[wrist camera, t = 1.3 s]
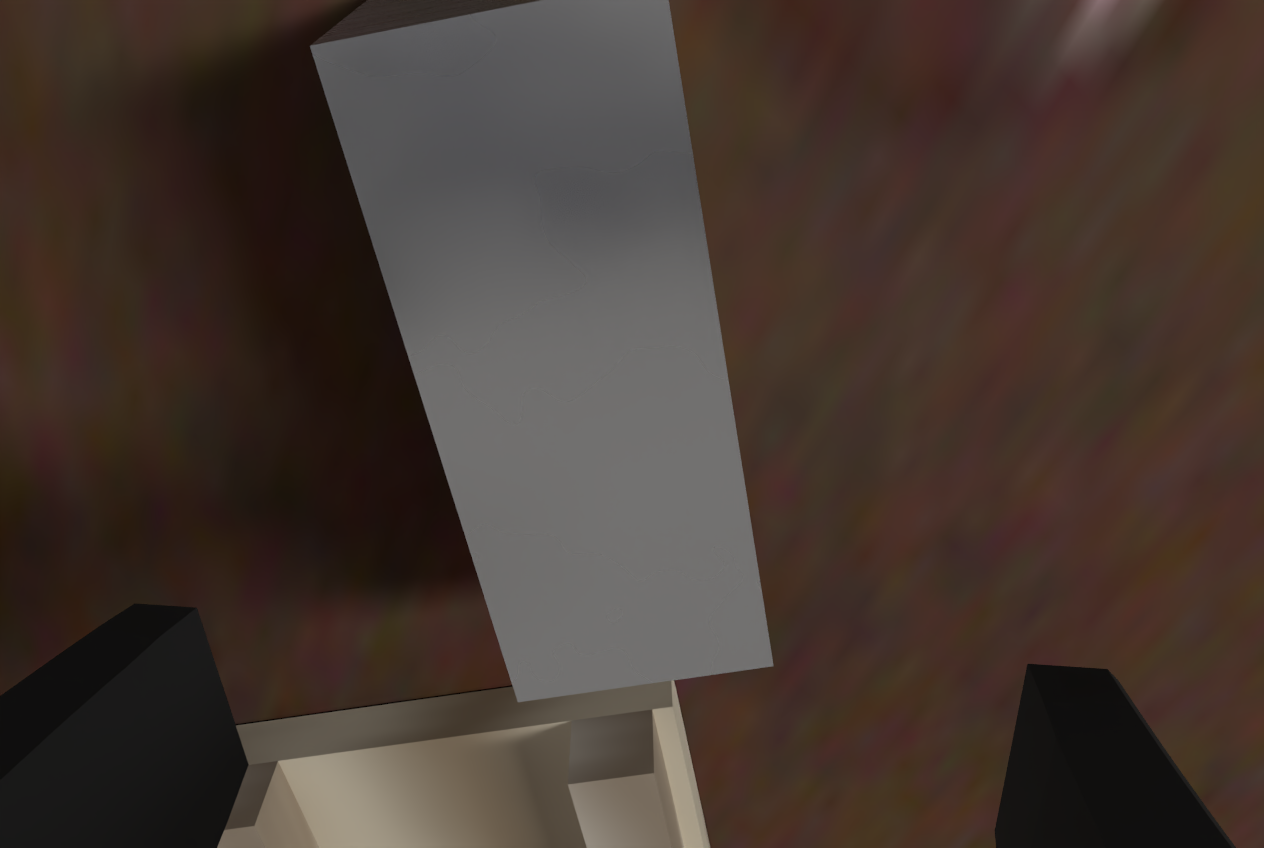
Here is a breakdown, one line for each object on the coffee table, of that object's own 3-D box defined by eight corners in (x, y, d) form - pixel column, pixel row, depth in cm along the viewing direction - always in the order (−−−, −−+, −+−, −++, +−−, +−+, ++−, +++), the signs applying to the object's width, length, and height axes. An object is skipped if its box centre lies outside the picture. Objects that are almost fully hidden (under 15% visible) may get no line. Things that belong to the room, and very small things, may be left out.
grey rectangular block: (537, 533, 21) (517, 702, 17) (385, -15, 16) (309, 45, 12) (745, 501, 21) (773, 665, 17) (654, -69, 16) (664, -25, 12)
